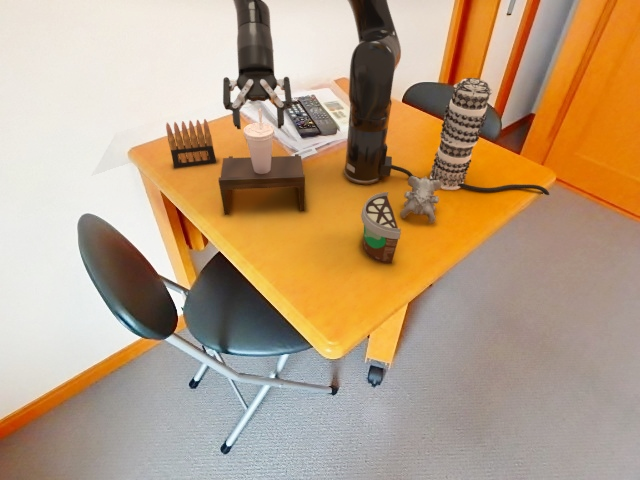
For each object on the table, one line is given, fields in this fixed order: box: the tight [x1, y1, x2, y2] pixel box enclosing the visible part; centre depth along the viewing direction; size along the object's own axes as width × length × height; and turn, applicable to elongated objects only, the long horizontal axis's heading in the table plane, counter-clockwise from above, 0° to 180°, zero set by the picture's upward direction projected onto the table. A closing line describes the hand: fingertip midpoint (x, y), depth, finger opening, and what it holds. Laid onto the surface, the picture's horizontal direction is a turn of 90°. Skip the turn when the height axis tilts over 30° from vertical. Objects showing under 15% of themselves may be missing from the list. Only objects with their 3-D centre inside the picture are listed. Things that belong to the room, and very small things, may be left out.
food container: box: [360, 191, 402, 264], centre depth 79 cm, size 12×6×10 cm, turn 5°
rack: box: [218, 153, 306, 216], centre depth 94 cm, size 18×21×9 cm
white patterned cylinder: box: [429, 77, 494, 191], centre depth 93 cm, size 9×9×25 cm
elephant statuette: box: [399, 175, 442, 224], centre depth 90 cm, size 9×12×8 cm
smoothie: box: [243, 108, 275, 174], centre depth 84 cm, size 6×6×14 cm
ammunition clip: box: [165, 118, 217, 169], centre depth 100 cm, size 11×2×12 cm, turn 106°
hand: (259, 127), depth 84 cm, fingers open, 8 cm apart
